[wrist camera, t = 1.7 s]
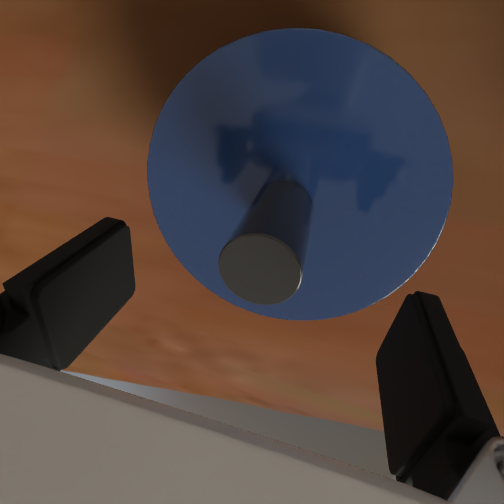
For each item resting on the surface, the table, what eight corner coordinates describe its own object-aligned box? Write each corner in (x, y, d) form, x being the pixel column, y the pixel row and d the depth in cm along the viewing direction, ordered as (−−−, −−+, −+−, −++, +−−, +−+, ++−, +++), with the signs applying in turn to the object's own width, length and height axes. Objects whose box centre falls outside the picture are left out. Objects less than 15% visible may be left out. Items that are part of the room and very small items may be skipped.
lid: (150, 8, 13) (15, -30, 8) (518, 58, 11) (688, 55, 6) (162, 276, 21) (99, 352, 16) (380, 332, 19) (395, 442, 14)
